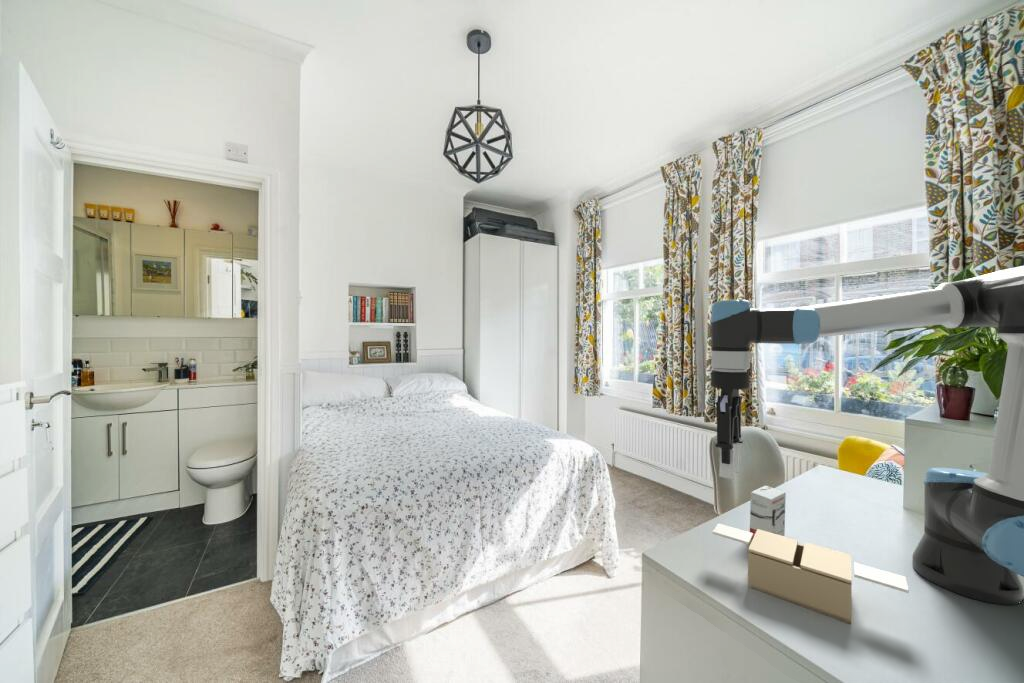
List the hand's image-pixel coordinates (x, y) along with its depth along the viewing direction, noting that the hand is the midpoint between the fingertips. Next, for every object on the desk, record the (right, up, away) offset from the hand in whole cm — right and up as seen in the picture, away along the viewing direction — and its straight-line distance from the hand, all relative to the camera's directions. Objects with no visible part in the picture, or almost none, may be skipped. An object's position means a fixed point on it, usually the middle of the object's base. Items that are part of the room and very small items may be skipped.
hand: (729, 474), depth 87 cm
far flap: (+3, -13, -3) cm, 14 cm away
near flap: (+16, -14, -13) cm, 25 cm away
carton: (+10, -21, -8) cm, 24 cm away
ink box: (+17, -21, +12) cm, 29 cm away
